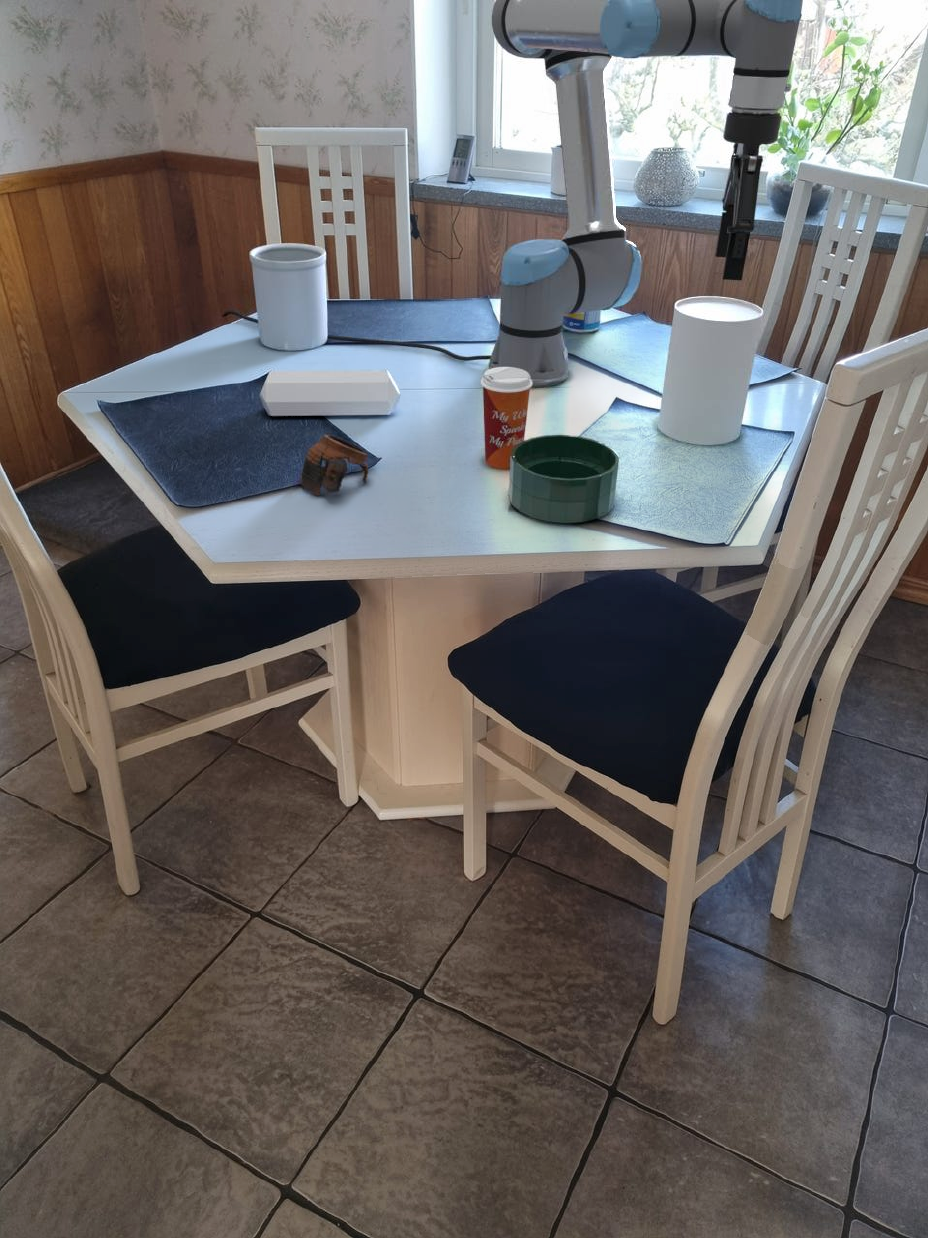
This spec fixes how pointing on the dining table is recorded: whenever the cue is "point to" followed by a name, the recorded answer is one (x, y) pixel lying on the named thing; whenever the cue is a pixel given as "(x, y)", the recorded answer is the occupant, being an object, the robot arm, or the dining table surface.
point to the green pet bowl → (563, 478)
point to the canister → (709, 369)
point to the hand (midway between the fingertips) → (727, 267)
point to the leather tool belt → (330, 464)
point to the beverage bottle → (582, 321)
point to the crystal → (329, 393)
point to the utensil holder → (290, 295)
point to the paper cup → (504, 412)
